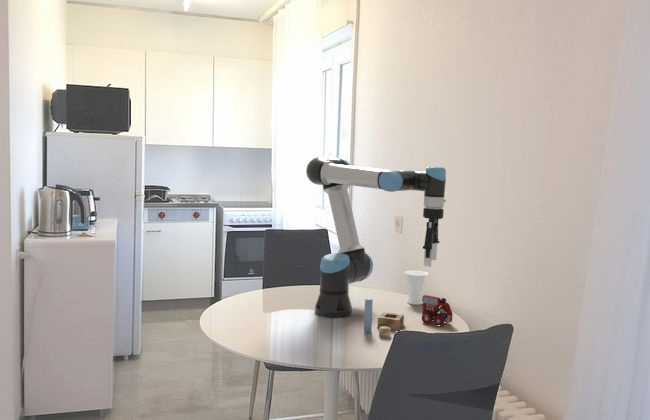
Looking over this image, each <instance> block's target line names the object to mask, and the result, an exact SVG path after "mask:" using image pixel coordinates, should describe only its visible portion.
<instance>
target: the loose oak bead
mask: <svg viewBox="0 0 650 420" xmlns="http://www.w3.org/2000/svg"><path fill="white" fill-rule="evenodd" d="M378 329H379V333H378V334H379V335H378V336H379V338H383V339H388V338H389V339H390V338H391V332H392V330H391V328H390V327H387V326H382V327H380V328H378Z"/></svg>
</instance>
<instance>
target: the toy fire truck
mask: <svg viewBox="0 0 650 420" xmlns="http://www.w3.org/2000/svg"><path fill="white" fill-rule="evenodd" d="M421 314H422V315H421V321H422V323H424V324H425V323H429V324H431V323H432V322H433V323H434V325H435V326H436V325H440V327H442V326H443V325H445V323H444V322H447V323H446V324H450V323H452V322H453V311H452V308H451V306H450V304H449V303H448V302H447V299H446V298H445V297H442V298H440V297H438V296H432V295H427V294H425V295H424V294H423V295H422V313H421ZM432 320H434V321H432Z"/></svg>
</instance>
